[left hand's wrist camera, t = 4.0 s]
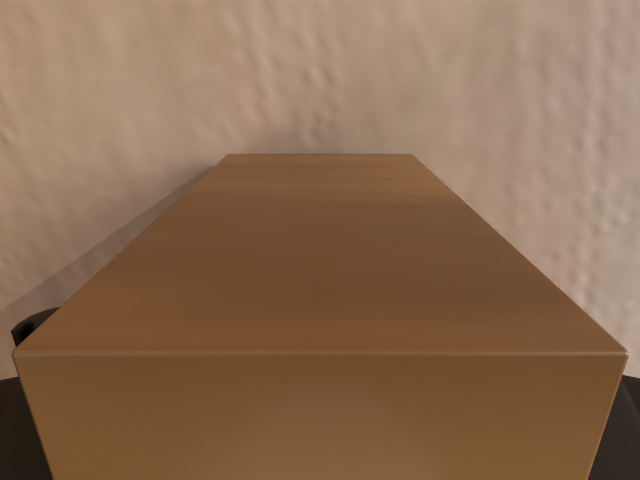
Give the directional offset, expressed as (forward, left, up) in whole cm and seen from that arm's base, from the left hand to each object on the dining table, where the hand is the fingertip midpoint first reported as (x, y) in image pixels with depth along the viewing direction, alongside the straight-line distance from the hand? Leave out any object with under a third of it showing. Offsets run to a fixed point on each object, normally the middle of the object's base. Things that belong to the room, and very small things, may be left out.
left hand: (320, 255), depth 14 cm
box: (+7, 0, -1) cm, 7 cm away
